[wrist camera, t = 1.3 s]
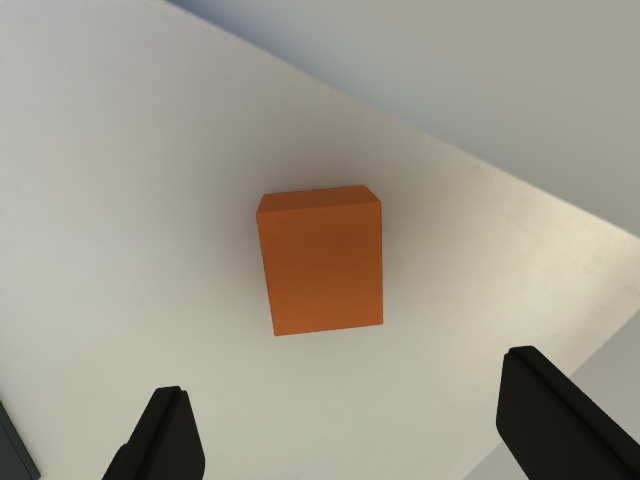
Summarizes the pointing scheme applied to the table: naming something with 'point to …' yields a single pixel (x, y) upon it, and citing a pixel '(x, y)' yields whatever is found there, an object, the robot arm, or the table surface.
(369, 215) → the orange block
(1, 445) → the tray
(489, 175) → the table surface
